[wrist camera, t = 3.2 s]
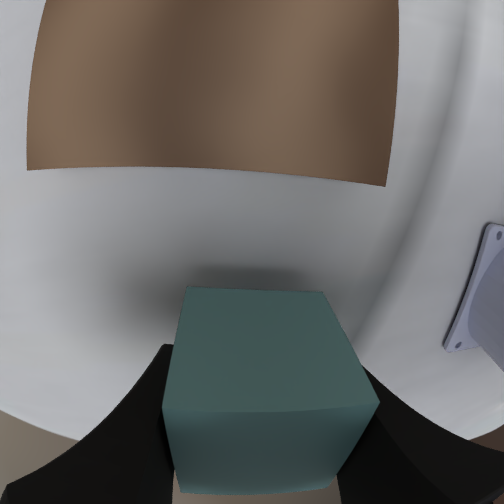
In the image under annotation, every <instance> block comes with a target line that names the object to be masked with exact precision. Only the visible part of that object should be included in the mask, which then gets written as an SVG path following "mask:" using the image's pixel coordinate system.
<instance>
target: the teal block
mask: <svg viewBox="0 0 504 504" xmlns="http://www.w3.org/2000/svg"><path fill="white" fill-rule="evenodd" d="M379 403H380V401H379V399H378V397H377V395H376V393H375V391H374V389H373V387H372V385H371V383H370V381H369V379H368V377H367V375H366V373H365V371H364V369H363V367H362V365H361V363H360V361H359V359H358V357H357V355H356V354H355V352H354V350H353V348H352V346H351V344H350V342H349V340H348V338H347V336H346V334H345V333H344V331H343V329H342V327H341V325H340V323H339V321H338V319H337V318H336V316H335V314H334V312H333V310H332V308H331V307H330V305H329V303H328V301H327V299H326V297H325V296H324V294H323V292H309V291H274V290H248V289H226V288H206V287H189V286H187V288H186V292H185V297H184V301H183V306H182V310H181V314H180V319H179V323H178V328H177V333H176V337H175V342H174V347H173V352H172V357H171V362H170V367H169V372H168V377H167V382H166V388H165V393H164V398H163V404H162V412H163V417H164V422H165V427H166V432H167V437H168V442H169V446H170V451H171V455H172V459H173V464H174V468H175V472H176V476H177V480H178V484H179V487H180V491H181V492H182V493H194V494H215V495H254V494H273V493H286V492H297V491H306V490H314V489H320V488H327V487H328V486H329V484H330V483H331V481H332V480H333V479H334V477H335V476H336V474H337V473H338V471H339V470H340V468H341V467H342V465H343V464H344V462H345V461H346V459H347V458H348V456H349V455H350V453H351V452H352V450H353V448H354V447H355V445H356V444H357V442H358V440H359V439H360V437H361V435H362V434H363V432H364V430H365V428H366V427H367V425H368V423H369V421H370V420H371V418H372V416H373V414H374V412H375V411H376V409H377V407H378V405H379Z"/></svg>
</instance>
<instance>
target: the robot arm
mask: <svg viewBox="0 0 504 504" xmlns="http://www.w3.org/2000/svg"><path fill="white" fill-rule="evenodd" d="M478 346H481V347H482V348H483V349H484V350H485V352H486V353H487V354H488V355H489V356H490V357H491V358H492V359H493V360H494V361H495V363H496V364H497V365H498V366H499V367H500V368H501V369H502V370H503V372H504V226H502V225H497V224H489V225H488V226H487V228H486V230H485V233H484V236H483V240H482V244H481V247H480V251H479V254H478V257H477V261H476V264H475V267H474V270H473V273H472V276H471V279H470V282H469V285H468V288H467V290H466V293H465V296H464V298H463V301H462V304H461V306H460V309H459V311H458V314H457V316H456V319H455V321H454V323H453V326H452V328H451V330H450V333H449V335H448V337H447V339H446V341H445V344H444V349H445V350H446V351H447V352H453V351H459V350H464V349H469V348H474V347H478ZM173 347H174V345H172V344H164V345H162V346H161V348H160V349H159V351H158V353H157V354H156V356H155V357H154V359H153V360H152V362H151V363H150V365H149V366H148V368H147V369H146V370H145V372H144V373H143V375H142V376H141V377H140V378H139V380H138V381H137V382H136V384H135V385H134V386H133V388H132V389H131V390H130V391H129V393H128V394H127V395H126V396H125V397H124V398H123V399H122V401H121V402H120V403H119V404H118V405H117V406H116V407H115V409H114V410H113V411H112V412H111V413H110V414H109V415H108V416H107V417H106V418H105V419H104V420H103V421H102V422H101V423H100V424H99V425H98V426H96V427H95V428H94V429H93V430H92V431H91V432H90V433H89V434H87V435H86V436H85V437H84V438H83V439H81V440H80V441H79V442H78V443H77V444H75V445H74V446H73V447H71V448H70V449H69V450H67V451H66V452H64V453H63V454H62V455H60V456H59V457H57V458H55V459H54V460H52V461H51V462H49V463H48V464H46V465H45V466H43V467H41V468H39V469H38V470H36V471H34V472H32V473H30V474H28V475H26V476H24V477H22V478H20V479H18V480H16V481H14V482H12V483H9V484H7V486H6V488H5V490H4V492H3V494H2V497H1V500H0V504H172V492H173V477H174V470H175V468H174V464H173V459H172V455H171V451H170V446H169V442H168V437H167V432H166V427H165V422H164V417H163V412H162V404H163V398H164V393H165V388H166V382H167V377H168V372H169V367H170V362H171V357H172V352H173ZM362 367H363V366H362ZM363 369H364V371H365V373H366V375H367V377H368V379H369V381H370V383H371V385H372V387H373V389H374V391H375V393H376V395H377V397H378V399H379V401H380V403H379V405H378V407H377V409H376V411H375V412H374V414H373V416H372V418H371V420H370V421H369V423H368V425H367V427H366V428H365V430H364V432H363V434H362V435H361V437H360V439H359V440H358V442H357V444H356V445H355V447H354V448H353V450H352V452H351V453H350V455H349V456H348V458H347V459H346V461H345V462H344V464H343V465H342V467H341V468H340V470H339V471H338V473H337V474H336V475H337V480H338V485H339V491H340V496H341V502H342V504H493V501H494V500H495V499H497V498H498V497H499V496H500V495H502V494H503V493H504V452H501V451H498V450H494V449H490V448H487V447H484V446H481V445H479V444H476V443H473V442H471V441H468V440H466V439H464V438H462V437H459V436H457V435H455V434H453V433H451V432H449V431H447V430H446V429H444V428H442V427H440V426H438V425H437V424H435V423H433V422H432V421H430V420H428V419H427V418H425V417H424V416H422V415H421V414H419V413H418V412H416V411H415V410H414V409H412V408H411V407H409V406H408V405H407V404H406V403H404V402H403V401H402V400H401V399H399V398H398V397H397V396H396V395H394V394H393V393H392V392H391V391H390V390H388V389H387V388H386V387H385V386H384V385H383V384H382V383H381V382H379V381H378V380H377V379H376V378H375V377H374V376H373V375H372V374H371V373H370V372H369V371H368V370H366V369H365V368H364V367H363Z"/></svg>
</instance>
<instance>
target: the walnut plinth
mask: <svg viewBox="0 0 504 504" xmlns="http://www.w3.org/2000/svg"><path fill="white" fill-rule="evenodd" d="M398 56H399V8H398V0H46V3H45V7H44V11H43V14H42V19H41V23H40V27H39V32H38V37H37V42H36V47H35V53H34V59H33V66H32V73H31V81H30V90H29V101H28V116H27V170H41V169H57V168H78V167H121V166H145V167H189V168H212V169H229V170H244V171H258V172H270V173H281V174H291V175H301V176H310V177H318V178H327V179H335V180H342V181H350V182H357V183H364V184H370V185H377V186H383V187H385V186H386V180H387V174H388V167H389V160H390V153H391V145H392V137H393V128H394V118H395V107H396V95H397V79H398Z"/></svg>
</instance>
